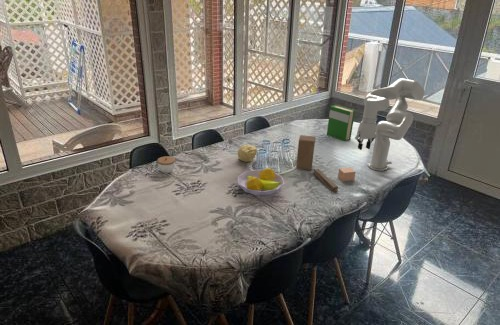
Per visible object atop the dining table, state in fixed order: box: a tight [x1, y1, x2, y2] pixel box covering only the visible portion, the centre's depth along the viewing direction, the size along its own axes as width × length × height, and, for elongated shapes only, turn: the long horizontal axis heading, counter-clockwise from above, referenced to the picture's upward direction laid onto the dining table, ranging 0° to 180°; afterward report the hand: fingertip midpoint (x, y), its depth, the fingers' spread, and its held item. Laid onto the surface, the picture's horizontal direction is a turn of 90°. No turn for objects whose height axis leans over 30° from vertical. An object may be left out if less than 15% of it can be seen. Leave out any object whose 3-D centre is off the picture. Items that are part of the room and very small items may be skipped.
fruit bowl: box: [237, 167, 285, 196], centre depth 206 cm, size 28×27×11 cm
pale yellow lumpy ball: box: [237, 144, 258, 163], centre depth 243 cm, size 12×12×11 cm
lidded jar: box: [156, 155, 176, 174], centre depth 223 cm, size 11×11×9 cm
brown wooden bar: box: [313, 168, 339, 193], centre depth 220 cm, size 3×24×3 cm, turn 18°
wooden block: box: [295, 134, 316, 171], centre depth 235 cm, size 10×10×20 cm
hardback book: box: [326, 104, 356, 142], centre depth 287 cm, size 18×7×24 cm, turn 43°
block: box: [337, 167, 356, 182], centre depth 224 cm, size 8×6×6 cm
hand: (363, 148), depth 220 cm, fingers open, 4 cm apart
